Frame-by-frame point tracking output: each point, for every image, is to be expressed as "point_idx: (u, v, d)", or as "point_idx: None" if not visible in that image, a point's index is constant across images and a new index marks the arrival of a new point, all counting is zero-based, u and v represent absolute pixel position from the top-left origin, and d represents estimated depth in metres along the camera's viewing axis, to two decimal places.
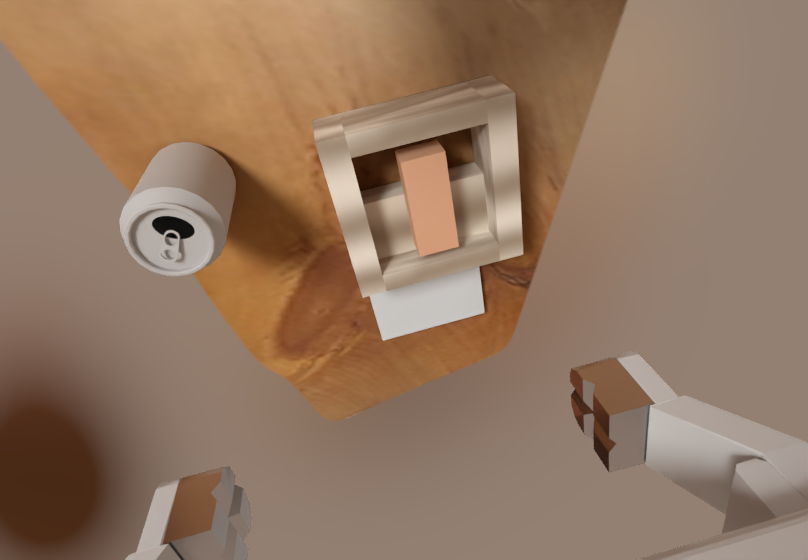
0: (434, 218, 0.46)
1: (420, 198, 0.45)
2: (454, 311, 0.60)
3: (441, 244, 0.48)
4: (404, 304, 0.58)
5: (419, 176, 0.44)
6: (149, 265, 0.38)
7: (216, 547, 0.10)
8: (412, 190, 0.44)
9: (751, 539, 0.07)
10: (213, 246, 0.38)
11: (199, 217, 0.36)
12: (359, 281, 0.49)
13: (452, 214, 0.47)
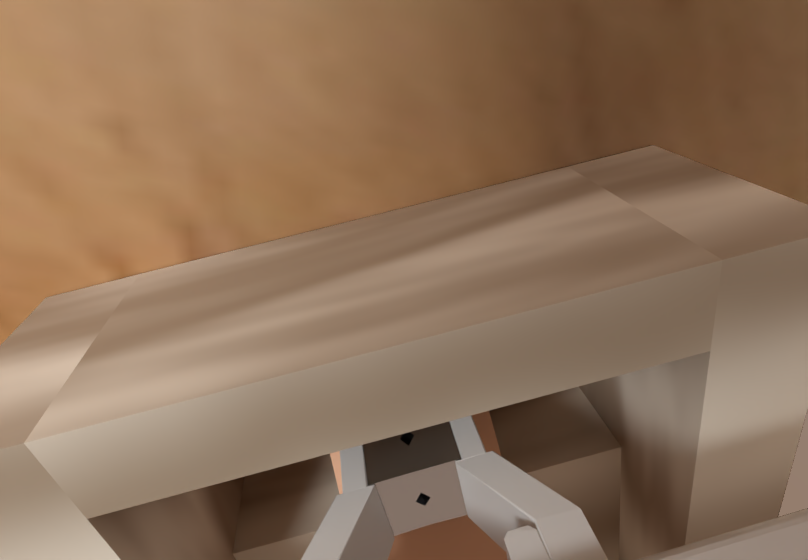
0: None
1: None
2: None
3: None
4: None
5: None
6: None
7: (415, 490, 0.10)
8: None
9: (751, 539, 0.07)
10: None
11: None
12: None
13: None
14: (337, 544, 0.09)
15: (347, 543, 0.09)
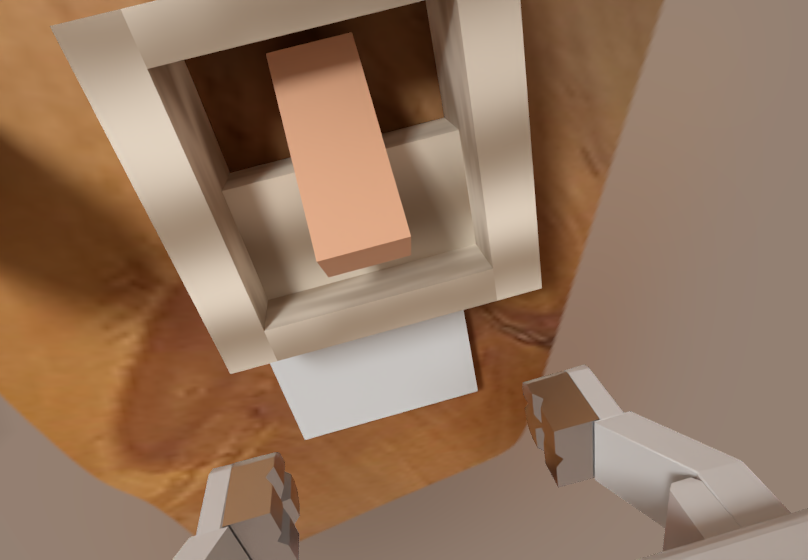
0: (343, 164, 0.21)
1: (307, 122, 0.22)
2: (425, 390, 0.35)
3: (366, 229, 0.20)
4: (336, 379, 0.34)
5: (303, 77, 0.22)
6: None
7: (274, 530, 0.10)
8: (292, 105, 0.22)
9: (751, 539, 0.07)
10: None
11: None
12: (218, 342, 0.25)
13: (383, 156, 0.21)
14: None
15: None
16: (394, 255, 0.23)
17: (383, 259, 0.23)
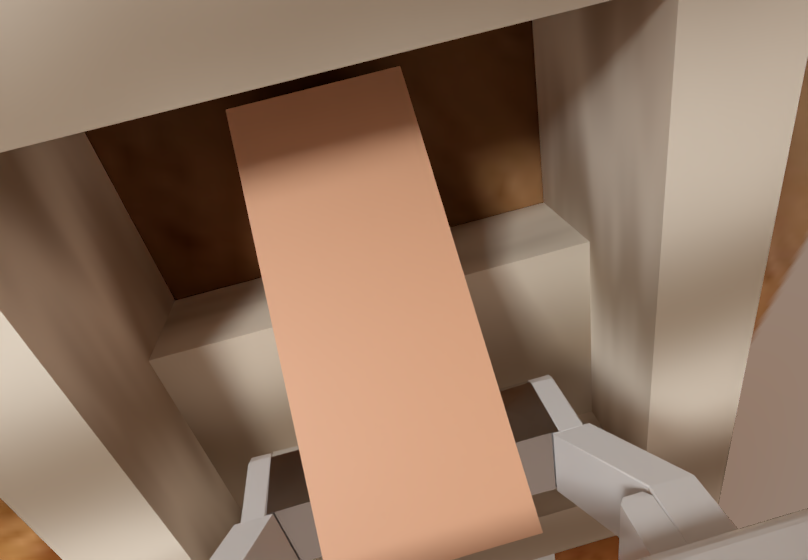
0: (388, 356, 0.10)
1: (311, 259, 0.10)
2: None
3: (442, 514, 0.09)
4: None
5: (302, 161, 0.11)
6: None
7: None
8: (278, 221, 0.10)
9: (751, 539, 0.07)
10: None
11: None
12: None
13: (474, 338, 0.10)
14: None
15: None
16: None
17: None
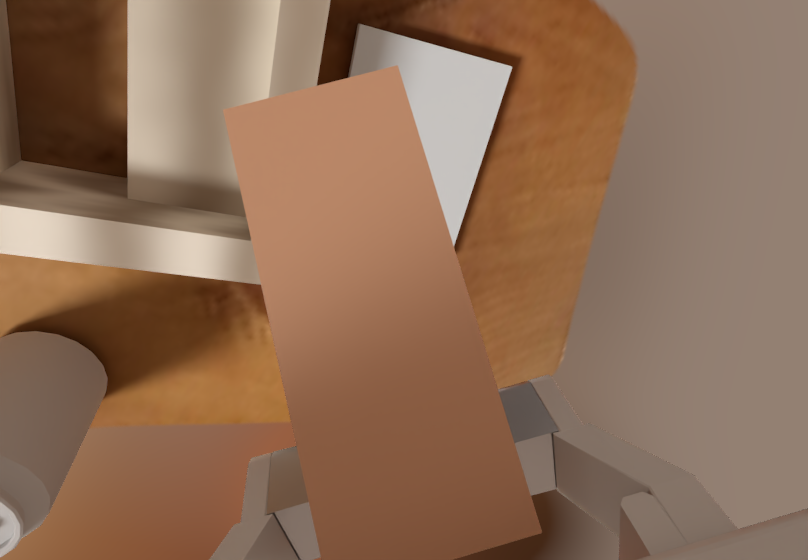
0: (386, 356, 0.10)
1: (309, 258, 0.10)
2: (470, 125, 0.30)
3: (441, 514, 0.09)
4: None
5: (299, 160, 0.11)
6: None
7: None
8: (275, 221, 0.10)
9: (751, 539, 0.07)
10: None
11: None
12: (245, 280, 0.27)
13: (472, 338, 0.10)
14: None
15: None
16: None
17: None
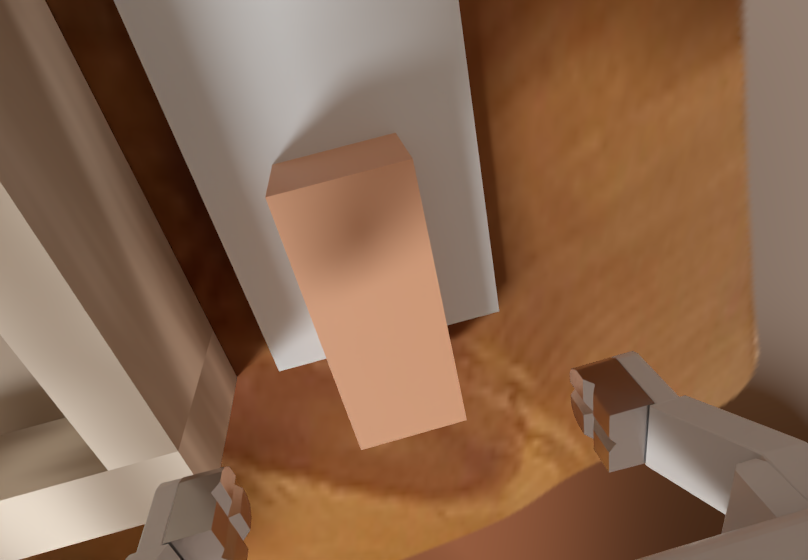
0: (393, 354, 0.16)
1: (344, 304, 0.15)
2: (421, 76, 0.15)
3: (418, 417, 0.18)
4: None
5: (333, 239, 0.14)
6: None
7: (216, 546, 0.10)
8: (318, 282, 0.14)
9: (751, 539, 0.07)
10: None
11: None
12: (145, 519, 0.15)
13: (445, 343, 0.16)
14: None
15: None
16: None
17: None
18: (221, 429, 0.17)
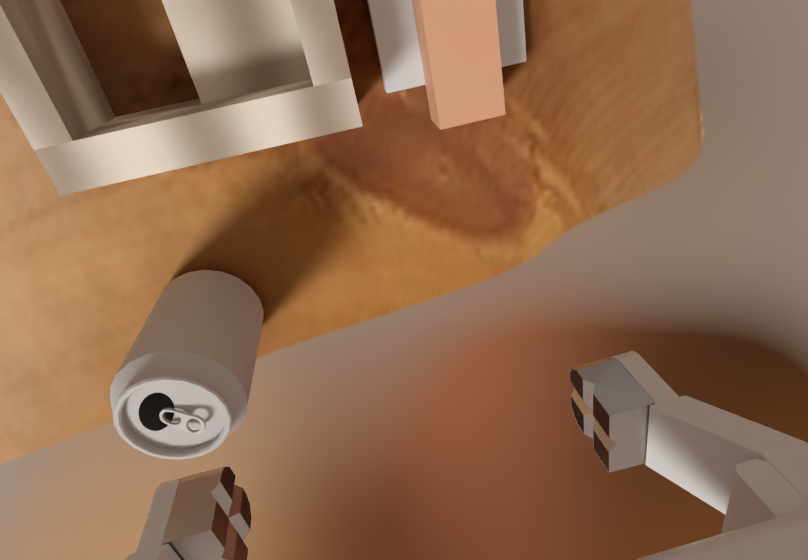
0: (466, 52, 0.28)
1: (442, 9, 0.26)
2: None
3: (476, 107, 0.29)
4: None
5: None
6: (215, 441, 0.29)
7: (217, 547, 0.10)
8: None
9: (751, 539, 0.07)
10: (174, 379, 0.26)
11: (127, 390, 0.26)
12: (324, 131, 0.27)
13: (496, 47, 0.28)
14: None
15: None
16: None
17: None
18: None
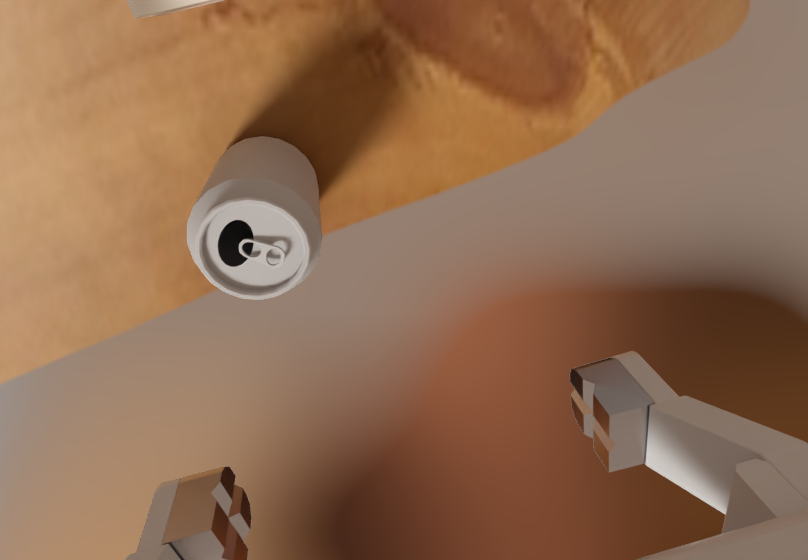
0: None
1: None
2: None
3: None
4: None
5: None
6: (293, 279, 0.29)
7: (216, 546, 0.10)
8: None
9: (751, 539, 0.07)
10: (257, 200, 0.26)
11: (210, 212, 0.26)
12: None
13: None
14: None
15: None
16: None
17: None
18: None
